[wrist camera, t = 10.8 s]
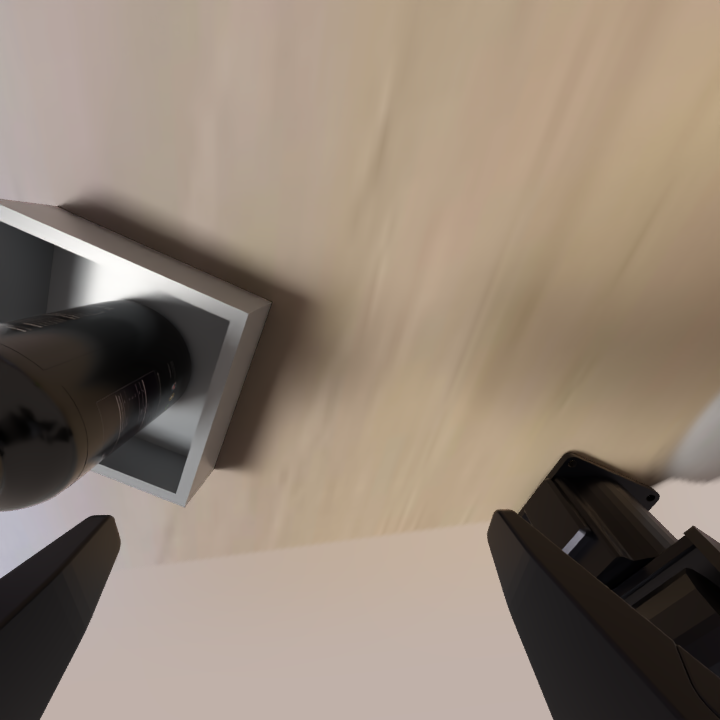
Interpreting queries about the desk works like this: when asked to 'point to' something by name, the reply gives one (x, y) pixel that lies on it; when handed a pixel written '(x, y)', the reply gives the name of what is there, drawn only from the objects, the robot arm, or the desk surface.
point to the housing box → (159, 292)
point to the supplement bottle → (80, 391)
